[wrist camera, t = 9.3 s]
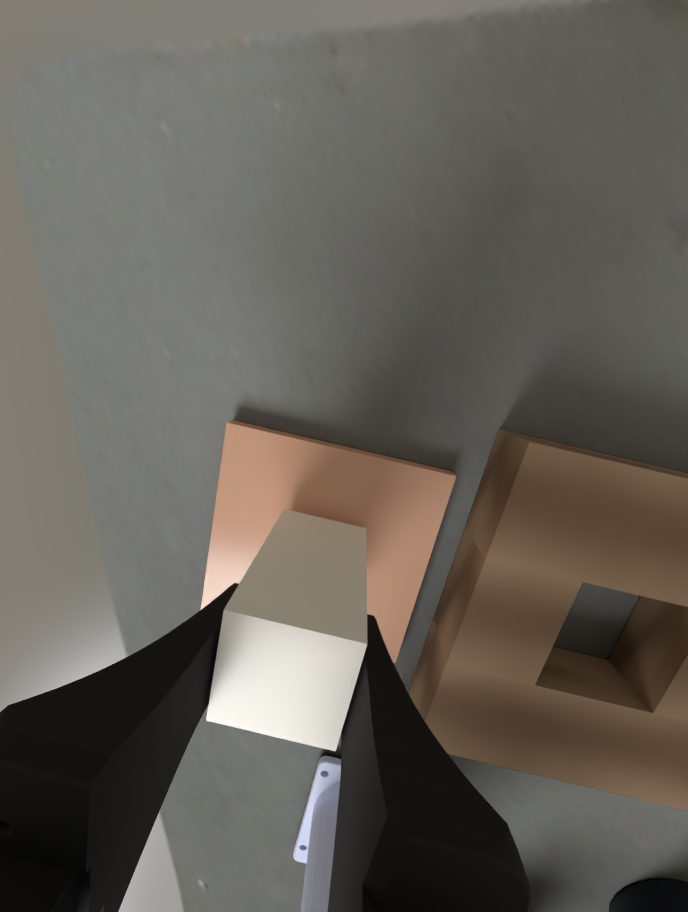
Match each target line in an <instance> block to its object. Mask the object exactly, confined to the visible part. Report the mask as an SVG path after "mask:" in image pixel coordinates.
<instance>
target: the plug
mask: <svg viewBox="0 0 688 912" xmlns="http://www.w3.org/2000/svg"><path fill="white" fill-rule="evenodd" d="M366 647H367V535H366V528H363V527H359V526H355V525H351V524H346V523H342V522H338V521H334V520H330V519H325V518H321V517H317V516H313V515H308V514H304V513H300V512H296V511H291V510H287V509H284V510H283V511H282V513H281V515H280V516H279V518H278V520H277V521H276V523H275V525H274V526H273V528H272V530H271V531H270V533H269V535H268V537H267V538H266V540H265V542H264V543H263V545H262V547H261V548H260V550H259V552H258V553H257V555H256V557H255V558H254V560H253V562H252V563H251V565H250V567H249V568H248V570H247V572H246V573H245V575H244V577H243V578H242V580H241V582H240V583H239V585H238V587H237V588H236V590H235V592H234V593H233V595H232V597H231V598H230V600H229V602H228V604H227V605H226V607H225V609H224V611H223V618H222V624H221V630H220V636H219V643H218V649H217V655H216V661H215V668H214V674H213V680H212V686H211V693H210V699H209V705H208V711H207V718H206V720H207V721H211V722H215V723H219V724H223V725H227V726H232V727H236V728H240V729H244V730H248V731H252V732H257V733H261V734H265V735H269V736H273V737H278V738H282V739H286V740H290V741H294V742H298V743H303V744H307V745H311V746H315V747H319V748H323V749H328V750H332V751H336V749H337V745H338V742H339V738H340V735H341V732H342V728H343V725H344V721H345V718H346V715H347V711H348V708H349V705H350V701H351V698H352V694H353V691H354V688H355V684H356V681H357V677H358V674H359V671H360V667H361V664H362V661H363V657H364V654H365V650H366Z"/></svg>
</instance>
